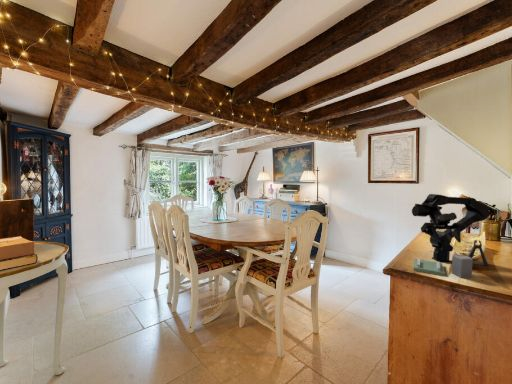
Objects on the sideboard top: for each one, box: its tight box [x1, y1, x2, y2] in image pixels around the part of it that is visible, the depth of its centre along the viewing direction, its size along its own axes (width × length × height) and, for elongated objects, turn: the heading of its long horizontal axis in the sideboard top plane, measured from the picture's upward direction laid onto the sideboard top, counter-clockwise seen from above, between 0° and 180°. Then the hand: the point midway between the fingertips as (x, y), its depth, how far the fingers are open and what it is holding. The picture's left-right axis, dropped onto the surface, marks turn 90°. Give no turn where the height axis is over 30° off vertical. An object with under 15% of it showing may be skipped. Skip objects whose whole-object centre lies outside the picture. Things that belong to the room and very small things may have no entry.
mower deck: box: [413, 258, 445, 277], centre depth 123 cm, size 12×16×3 cm
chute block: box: [451, 254, 474, 279], centre depth 114 cm, size 5×5×9 cm
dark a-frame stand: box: [467, 239, 490, 268], centre depth 130 cm, size 9×6×12 cm, turn 50°
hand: (450, 242), depth 121 cm, fingers open, 9 cm apart
